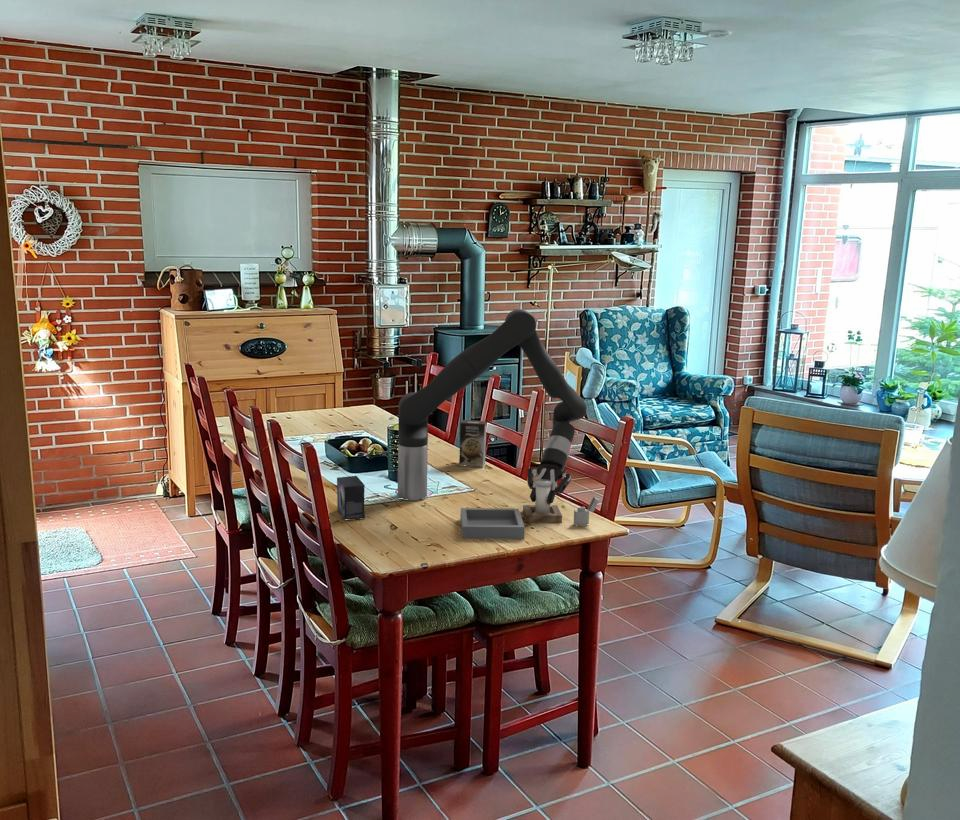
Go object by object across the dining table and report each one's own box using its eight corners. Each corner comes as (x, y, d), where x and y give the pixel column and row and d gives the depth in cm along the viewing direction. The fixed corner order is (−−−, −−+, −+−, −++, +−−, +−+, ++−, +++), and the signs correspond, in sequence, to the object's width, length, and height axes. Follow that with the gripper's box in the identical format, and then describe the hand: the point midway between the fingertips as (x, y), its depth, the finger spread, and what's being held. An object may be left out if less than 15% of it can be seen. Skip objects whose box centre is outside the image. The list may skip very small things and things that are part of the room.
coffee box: (458, 466, 321) (459, 422, 318) (461, 462, 327) (462, 419, 324) (483, 467, 320) (484, 423, 317) (485, 463, 326) (486, 420, 323)
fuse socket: (526, 521, 260) (526, 515, 259) (522, 511, 270) (523, 504, 269) (561, 522, 260) (562, 515, 260) (556, 511, 270) (557, 505, 270)
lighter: (575, 525, 257) (576, 499, 256) (573, 524, 259) (574, 497, 257) (598, 524, 259) (599, 498, 258) (595, 522, 261) (597, 496, 259)
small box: (335, 510, 266) (335, 476, 264) (357, 508, 268) (357, 475, 266) (343, 521, 256) (343, 486, 254) (365, 519, 259) (365, 484, 257)
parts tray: (462, 538, 244) (462, 526, 243) (460, 519, 260) (460, 508, 260) (524, 539, 245) (524, 527, 244) (518, 519, 261) (518, 508, 261)
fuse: (535, 519, 263) (536, 483, 260) (533, 514, 267) (534, 478, 265) (551, 519, 263) (552, 483, 261) (549, 514, 268) (550, 478, 265)
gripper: (531, 444, 271) (515, 492, 262) (576, 449, 265) (560, 499, 257) (537, 457, 277) (521, 504, 268) (580, 463, 271) (565, 511, 262)
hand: (540, 501), depth 262 cm, fingers closed on fuse, 4 cm apart
